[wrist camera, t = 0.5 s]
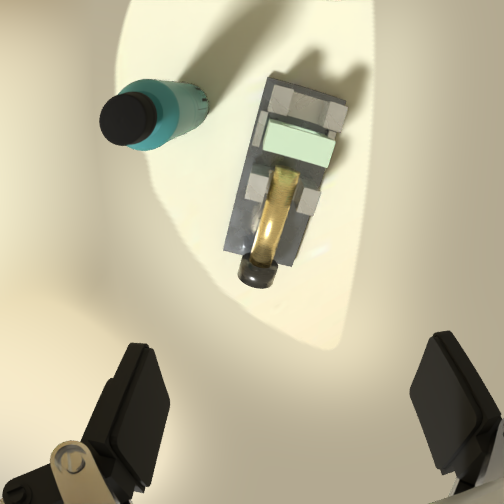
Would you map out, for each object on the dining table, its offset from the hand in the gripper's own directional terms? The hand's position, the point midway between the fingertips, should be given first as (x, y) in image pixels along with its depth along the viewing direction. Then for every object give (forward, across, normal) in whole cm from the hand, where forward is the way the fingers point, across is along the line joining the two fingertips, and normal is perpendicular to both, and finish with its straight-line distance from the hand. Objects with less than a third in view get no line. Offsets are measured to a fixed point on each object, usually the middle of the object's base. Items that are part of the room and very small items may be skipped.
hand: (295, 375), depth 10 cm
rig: (+34, -2, 0) cm, 34 cm away
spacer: (+33, -3, -4) cm, 33 cm away
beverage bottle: (+34, +10, -9) cm, 37 cm away
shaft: (+32, 0, +6) cm, 33 cm away
